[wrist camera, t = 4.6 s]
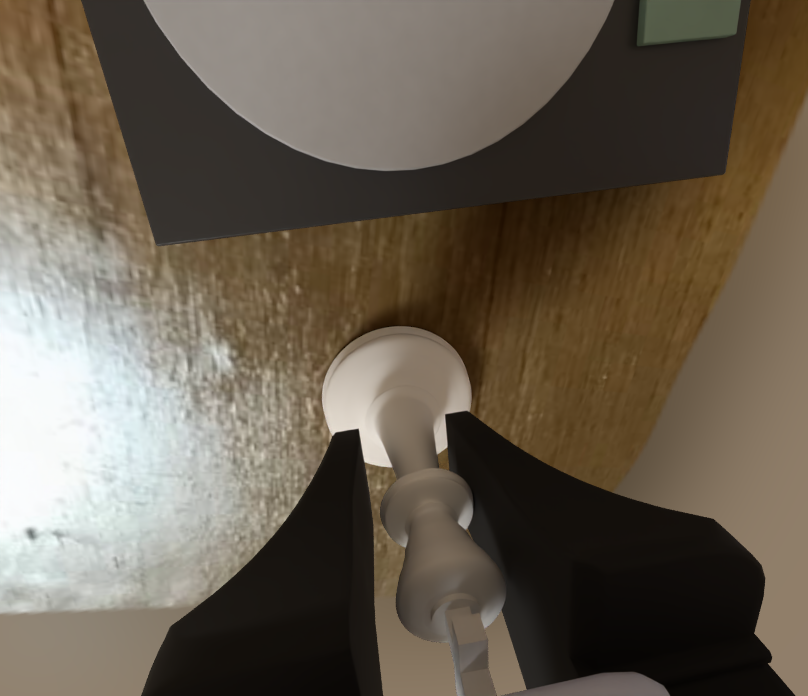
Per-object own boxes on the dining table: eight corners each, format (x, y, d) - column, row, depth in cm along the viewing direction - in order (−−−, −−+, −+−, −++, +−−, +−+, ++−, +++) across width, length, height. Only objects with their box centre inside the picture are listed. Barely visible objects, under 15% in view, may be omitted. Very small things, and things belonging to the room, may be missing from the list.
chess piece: (333, 467, 16) (333, 859, 7) (311, 335, 15) (273, 637, 5) (470, 446, 17) (635, 788, 8) (466, 316, 15) (677, 562, 6)
